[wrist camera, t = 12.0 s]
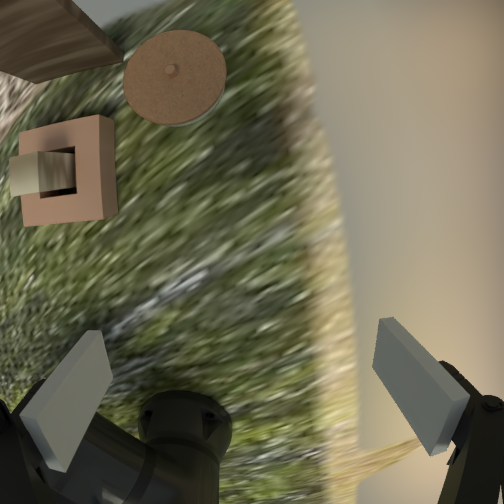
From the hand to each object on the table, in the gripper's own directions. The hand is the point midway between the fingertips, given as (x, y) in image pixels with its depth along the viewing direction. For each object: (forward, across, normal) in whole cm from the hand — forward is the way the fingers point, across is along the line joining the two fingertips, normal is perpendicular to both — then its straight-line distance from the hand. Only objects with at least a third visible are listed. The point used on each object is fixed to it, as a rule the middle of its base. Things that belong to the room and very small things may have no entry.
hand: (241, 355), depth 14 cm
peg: (+27, +21, -10) cm, 35 cm away
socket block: (+27, +21, -10) cm, 35 cm away
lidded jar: (+27, +6, -19) cm, 33 cm away
